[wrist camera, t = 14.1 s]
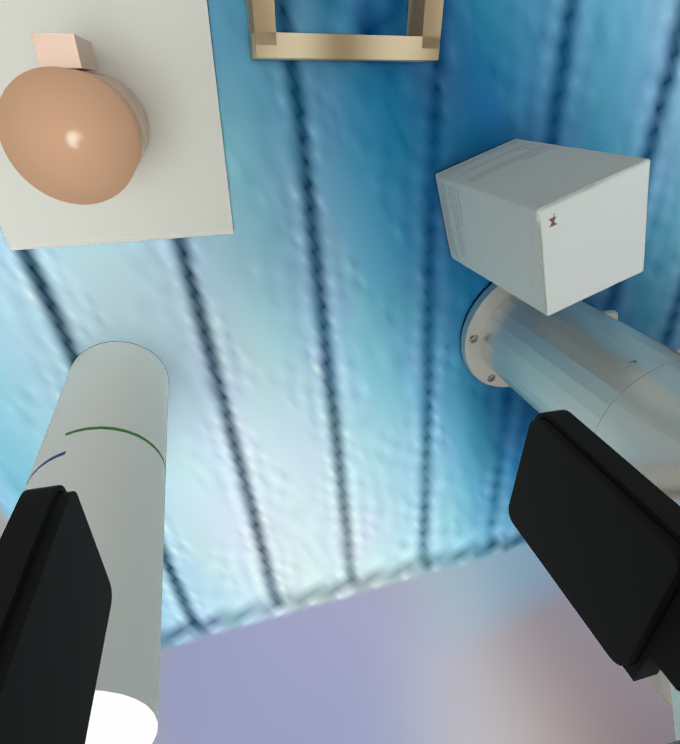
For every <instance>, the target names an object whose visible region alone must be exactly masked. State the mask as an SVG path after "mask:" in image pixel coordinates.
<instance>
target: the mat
mask: <svg viewBox="0 0 680 744" xmlns="http://www.w3.org/2000/svg"><path fill="white" fill-rule="evenodd" d="M31 33H63V34H75V35H77V36H79V37H81V38H83V39H85V40H87V41H89V42H91V43H92V46H93V51H94V55H95V60H96V64H97V69H98V71H89V72H95V73H100V74H104V75H107V76H110V77H112V78H114V79H116V80H118V81H119V82H121V83H122V84H124V85H125V86H126V87H127V88H129V89H130V90H131V91H132V92H133V94H134V95H135V96H136V97H137V98H138V100H139V102H140V103H141V105H142V107H143V109H144V111H145V113H146V116H147V119H148V123H149V142H148V145H147V148H146V151H145V153H144V155H143V157H142V159H141V161H140V163H139V165H138V167H137V169H136V171H135V173H134V175H133V177H132V179H131V180H130V182H129V183H128V185H127V186H126V187H125V188H124V189H123V190H122V191H121V192H120V193H119V194H118V195H116V196H114V197H113V198H111V199H109V200H107V201H104V202H101V203H97V204H89V205H79V204H71V203H67V202H63V201H60V200H57V199H54V198H52V197H50V196H48V195H46V194H44V193H42V192H41V191H39V190H38V189H36V188H35V187H33V186H32V185H31V184H30V183H28V182H27V181H26V180H25V179H24V178H23V177H22V176H21V175H20V174H19V173H18V171H17V170H16V169H15V168H14V166H13V165H12V164H11V162H10V161H9V159H8V157H7V155H6V154H5V152H4V149H3V147H2V145H1V142H0V225H1V228H2V231H3V233H4V236H5V239H6V242H7V244H8V247H9V250H23V249H37V248H50V247H63V246H77V245H90V244H104V243H117V242H131V241H144V240H157V239H171V238H184V237H198V236H211V235H225V234H234V232H233V224H232V215H231V206H230V198H229V189H228V180H227V172H226V163H225V155H224V146H223V137H222V129H221V120H220V112H219V103H218V94H217V86H216V77H215V68H214V60H213V51H212V43H211V34H210V25H209V17H208V8H207V0H0V98H1V96H2V94H3V92H4V90H5V88H6V87H7V86H8V85H9V83H10V82H11V81H12V80H14V79H15V78H16V77H17V76H19V75H20V74H22V73H24V72H26V71H28V70H31V69H34V68H39V67H40V64H39V61H38V57H37V54H36V50H35V46H34V43H33V39H32V36H31Z"/></svg>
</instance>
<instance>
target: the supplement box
mask: <svg viewBox="0 0 680 744" xmlns="http://www.w3.org/2000/svg"><path fill="white" fill-rule="evenodd" d="M650 162H651V161H650V159H645V158H639V157H633V156H627V155H620V154H614V153H607V152H600V151H594V150H587V149H580V148H573V147H566V146H559V145H553V144H546V143H540V142H534V141H527V140H521V139H514V140H511V141H509V142H507V143H504V144H502V145H499V146H497V147H495V148H493V149H490V150H488V151H486V152H484V153H481V154H479V155H477V156H475V157H472V158H470V159H468V160H466V161H463V162H461V163H459V164H457V165H454V166H452V167H450V168H448V169H445V170H443V171H441V172H439V173H436V175H435V177H436V182H437V188H438V193H439V198H440V203H441V209H442V213H443V219H444V224H445V229H446V234H447V239H448V244H449V249H450V253H451V257H452V258H453V259H455V260H456V261H458V262H460V263H461V264H463V265H464V266H466V267H468V268H469V269H471V270H473V271H474V272H476V273H478V274H479V275H481V276H483V277H484V278H486V279H488V280H489V281H491V282H493V283H494V284H496V285H498V286H499V287H501V288H502V289H504V290H506V291H507V292H509V293H511V294H512V295H514V296H516V297H517V298H519V299H521V300H522V301H524V302H526V303H527V304H529V305H530V306H532V307H534V308H535V309H537V310H539V311H540V312H542V313H544V314H545V315H547V316H549V315H552V314H554V313H556V312H558V311H560V310H562V309H564V308H566V307H568V306H570V305H572V304H574V303H576V302H579V301H581V300H583V299H585V298H587V297H589V296H591V295H594V294H596V293H598V292H600V291H602V290H604V289H606V288H608V287H611V286H613V285H615V284H617V283H619V282H621V281H623V280H626V279H628V278H630V277H632V276H634V275H636V274H639V273H641V272H642V271H643V267H644V253H645V236H646V219H647V197H648V186H649V173H650Z"/></svg>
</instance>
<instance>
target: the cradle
mask: <svg viewBox="0 0 680 744" xmlns="http://www.w3.org/2000/svg"><path fill="white" fill-rule="evenodd" d="M246 3H247V15H248V27H249V40H250V52H251V60H314V61H387V62H426V61H437V60H438V58H439V47H440V36H441V25H442V14H443V3H444V0H409V3H408V19H407V36H387V35H351V34H315V33H279V32H276V22H275V5H274V0H246Z"/></svg>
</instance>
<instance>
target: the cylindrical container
mask: <svg viewBox="0 0 680 744" xmlns="http://www.w3.org/2000/svg"><path fill="white" fill-rule="evenodd" d="M168 384H169V380H168V374H167V371H166V369H165V367H164V365H163V364H162V362H161V361H160V359H159V358H157V357H156V356H155V355H154V354H153V353H152V352H150V351H149V350H147V349H145V348H143V347H141V346H138V345H136V344H131V343H127V342H116V341H115V342H105V343H101V344H98V345H95V346H93V347H90V348H88V349H87V350H85V351H84V352H83V353H81V354H80V355H79V356H78V357H77V358H76V359H75V361H74V363H73V364H72V366H71V368H70V371H69V374H68V376H67V379H66V382H65V384H64V387H63V390H62V392H61V395H60V398H59V400H58V403H57V406H56V408H55V411H54V414H53V416H52V419H51V422H50V424H49V427H48V429H47V432H46V435H45V437H44V440H43V442H42V445H41V448H40V450H39V453H38V456H37V458H36V461H35V463H34V466H33V469H32V471H31V474H30V476H29V479H28V482H27V485H26V487H25V490H28V489H35V488H42V487H48V486H55V485H62V486H64V487H65V489H66V491H67V492H69V491H75V492H76V493H77V495H78V497H79V500H80V503H81V505H82V508H83V511H84V513H85V516H86V519H87V521H88V524H89V527H90V530H91V532H92V535H93V538H94V540H95V543H96V546H97V549H98V551H99V554H100V557H101V559H102V562H103V565H104V567H105V570H106V573H107V576H108V578H109V581H110V584H111V589H112V603H111V609H110V614H109V619H108V625H107V630H106V635H105V641H104V646H103V651H102V656H101V662H100V667H99V672H98V678H97V683H96V688H95V693H94V699H93V704H92V709H91V715H90V720H89V725H88V731H87V736H86V741H85V744H152V742H153V740H154V738H155V736H156V734H157V727H158V700H159V670H160V669H159V668H160V639H161V607H162V576H163V544H164V512H165V482H166V450H167V417H168ZM25 490H24V491H25Z"/></svg>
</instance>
